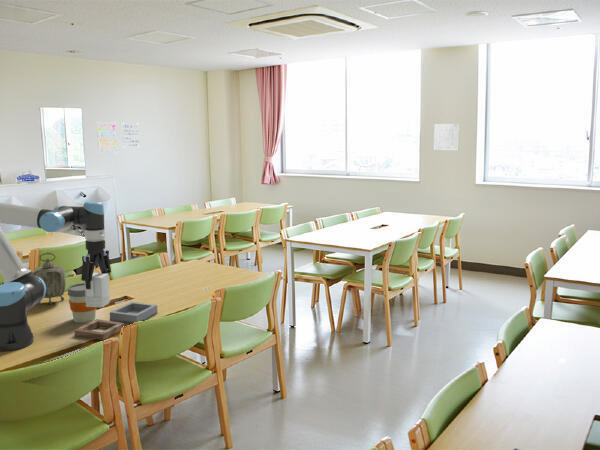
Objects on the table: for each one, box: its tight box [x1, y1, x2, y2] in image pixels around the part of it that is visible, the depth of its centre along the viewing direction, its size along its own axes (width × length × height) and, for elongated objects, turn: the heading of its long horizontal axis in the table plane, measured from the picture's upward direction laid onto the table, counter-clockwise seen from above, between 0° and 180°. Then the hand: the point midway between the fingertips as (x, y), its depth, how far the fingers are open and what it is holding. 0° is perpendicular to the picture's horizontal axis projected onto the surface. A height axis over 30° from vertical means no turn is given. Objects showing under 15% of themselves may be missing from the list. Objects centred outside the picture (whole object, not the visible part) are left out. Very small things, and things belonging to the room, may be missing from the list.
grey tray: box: [109, 301, 158, 325], centre depth 245 cm, size 16×14×4 cm
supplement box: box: [84, 272, 111, 308], centre depth 223 cm, size 7×7×13 cm
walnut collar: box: [73, 318, 125, 341], centre depth 226 cm, size 14×14×2 cm
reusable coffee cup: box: [67, 282, 98, 324], centre depth 240 cm, size 13×13×15 cm
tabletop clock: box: [32, 252, 67, 305], centre depth 261 cm, size 14×9×25 cm, turn 110°
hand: (97, 293), depth 223 cm, fingers closed on supplement box, 8 cm apart
